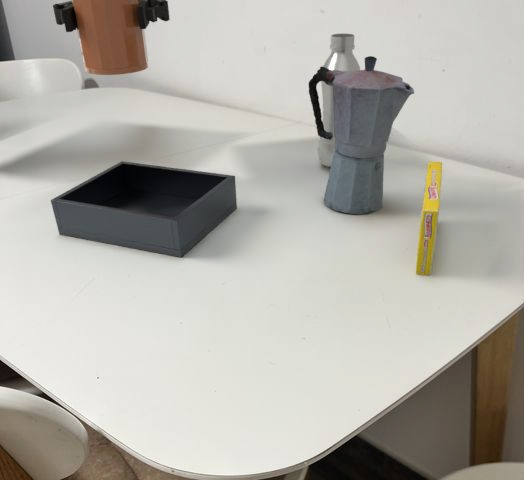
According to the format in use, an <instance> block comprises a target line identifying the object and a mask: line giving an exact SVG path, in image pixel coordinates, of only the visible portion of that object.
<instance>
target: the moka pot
mask: <svg viewBox="0 0 524 480" xmlns="http://www.w3.org/2000/svg"><path fill="white" fill-rule="evenodd" d="M377 61H378V58H377V57H375V56H372V55H369V56H366V57H364V69H360V70H359V71H353V72H347V73H343V72H342V71H338V70H329V69H327V68H325V67H323V65H322V66H320V67H319V69H317V70H316V73H314V75H313V76H312V78H311V79H310V80H309V81H308V95H309V98H310V103H311V106H312V111H313V116H314V119H315V120H314V123H315V126H316V132H317V136H318V137H319V138H320V137H323V138H325V139H328V140H331V139H332V137H333V134H332V133H331V132H326V131H325V130H324V125H323V122H322V119H323V115H322V109H321V105H320V100H319V99H320V97H319V93H318V89H317V85H318V84H319V83H321V81H324V82H325V83H326V84H327V85H329V86H333V114H334V138H335V152H334V155H333V160H332V164H331V167H330V169H329V173H328V177H327V183H326V186H325V191H324V194H323V195H324V196H323V202H324V204H325V205H326V206H327V207H329V208H330V209H332V210H334V211H337V212H341V213H344V214H350V215H351V214H352V215H365V214H370V213H374V212H376V211H378V210H380V209H381V208H382V206H383V198H384V171H385V170H384V166H385V154H384V153H385V152H386V150H387V144H388V142H389V138H390V136H391V133H392V132H391V131H392V128H393V124H394V122H395V120H396V119H397V118H398V116H399V114H400V112H401V111H402V109H403V107H404V105H405V103H406V102H407V101H408V98H410V96H411V95H414V94H415V89H414V87H412V86H411V85H410V83H408V82H405V81H403V78H402V77H401V76H397V75H395V74H391V73H388V72H385V71H382V70H375V67H376V64H377Z"/></svg>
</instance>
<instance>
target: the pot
mask: <svg viewBox="0 0 524 480" xmlns="http://www.w3.org/2000/svg"><path fill="white" fill-rule="evenodd" d="M140 3H141V1H140V0H72V6H73V11H74V16H75V21H76V26H77V28H76V31H77V36H78V41H79V46H80V52H81V57H82V61H83V66H84V70H85V72H86V73H87V74H90V75H96V76H97V75H99V76H117V75H126V74H127V75H128V74H134V73H139V72H143V71H144V70H147V69H148V68H149V56H148V49H147V47H148V46H147V39H146V34H145V33H146V32H145V29H140V24H139V17H138V9H137V6H138V5H139V4H140Z"/></svg>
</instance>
